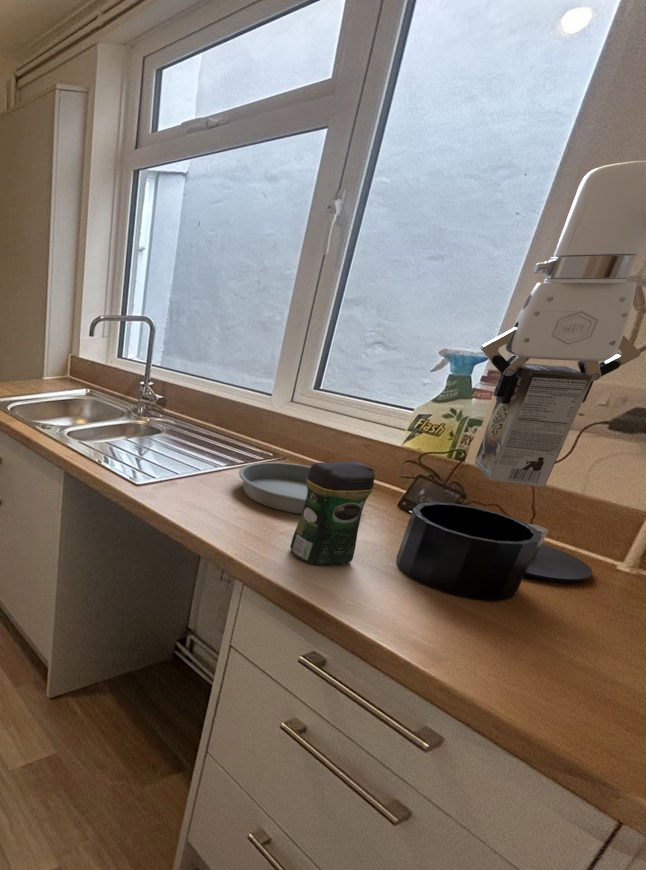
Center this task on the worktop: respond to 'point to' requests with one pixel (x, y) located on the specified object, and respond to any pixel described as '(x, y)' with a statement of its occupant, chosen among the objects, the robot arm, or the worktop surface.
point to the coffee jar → (332, 512)
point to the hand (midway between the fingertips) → (535, 403)
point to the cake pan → (276, 485)
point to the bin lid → (556, 563)
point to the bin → (467, 551)
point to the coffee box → (532, 425)
